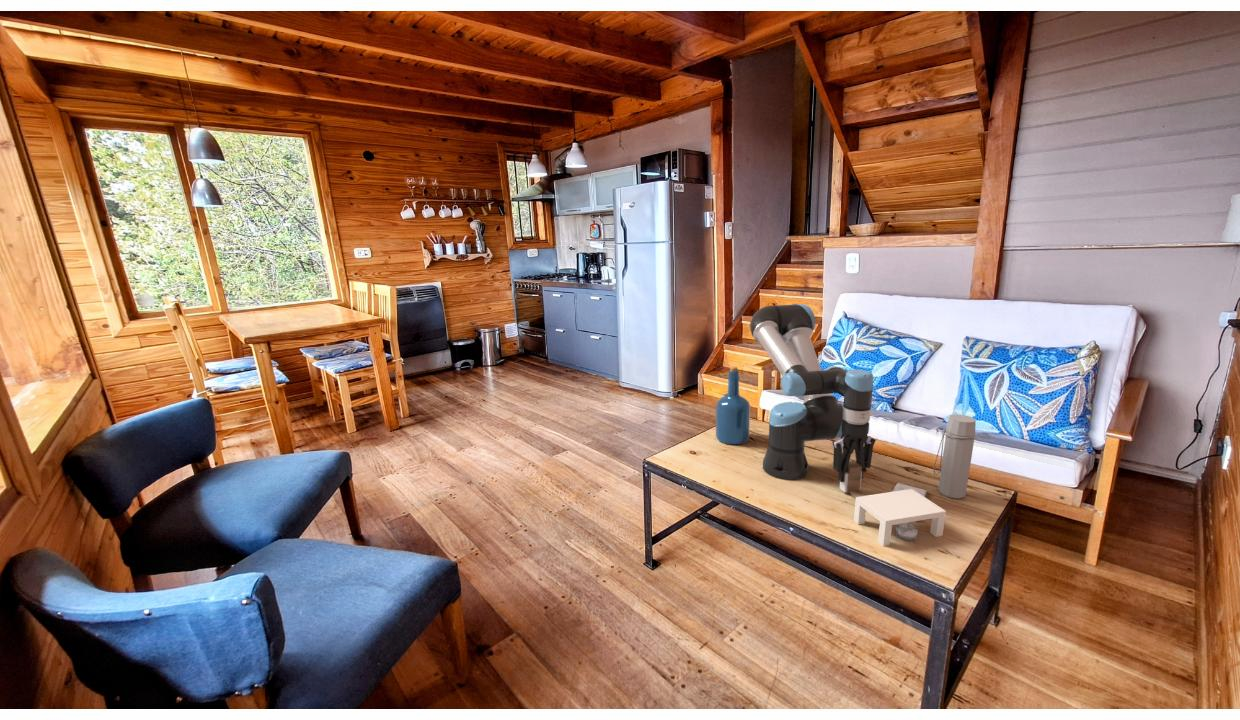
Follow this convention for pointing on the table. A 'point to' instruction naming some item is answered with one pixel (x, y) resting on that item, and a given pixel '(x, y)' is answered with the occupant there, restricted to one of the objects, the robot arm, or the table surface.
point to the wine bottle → (733, 413)
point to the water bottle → (956, 455)
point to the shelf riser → (899, 511)
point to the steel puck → (906, 532)
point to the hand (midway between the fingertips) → (849, 489)
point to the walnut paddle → (854, 479)
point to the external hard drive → (905, 487)
